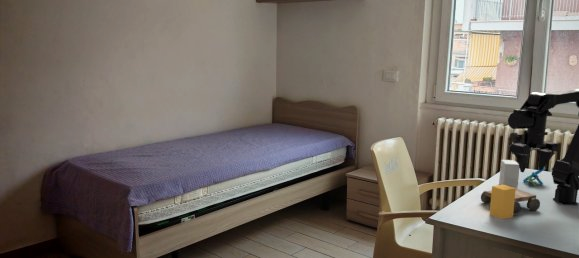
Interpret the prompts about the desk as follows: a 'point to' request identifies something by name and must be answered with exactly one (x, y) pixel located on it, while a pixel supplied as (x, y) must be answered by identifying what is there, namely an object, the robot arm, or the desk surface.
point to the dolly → (516, 200)
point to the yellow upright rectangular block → (502, 201)
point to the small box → (509, 173)
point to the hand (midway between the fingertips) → (531, 171)
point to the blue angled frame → (534, 177)
